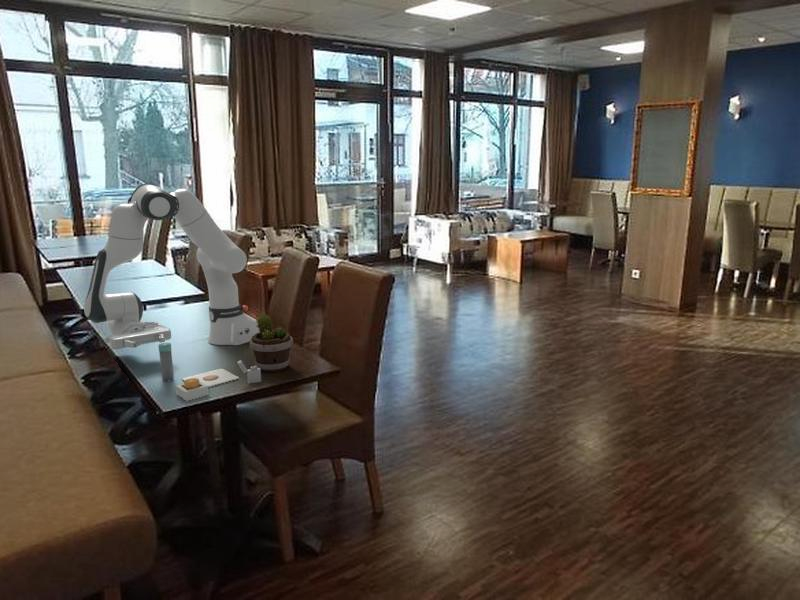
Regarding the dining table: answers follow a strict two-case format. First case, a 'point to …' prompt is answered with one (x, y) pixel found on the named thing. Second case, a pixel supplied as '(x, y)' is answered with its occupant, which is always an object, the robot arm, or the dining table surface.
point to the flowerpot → (270, 346)
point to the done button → (191, 383)
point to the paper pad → (214, 377)
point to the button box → (192, 391)
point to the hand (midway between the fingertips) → (148, 342)
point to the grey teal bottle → (166, 361)
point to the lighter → (251, 373)
